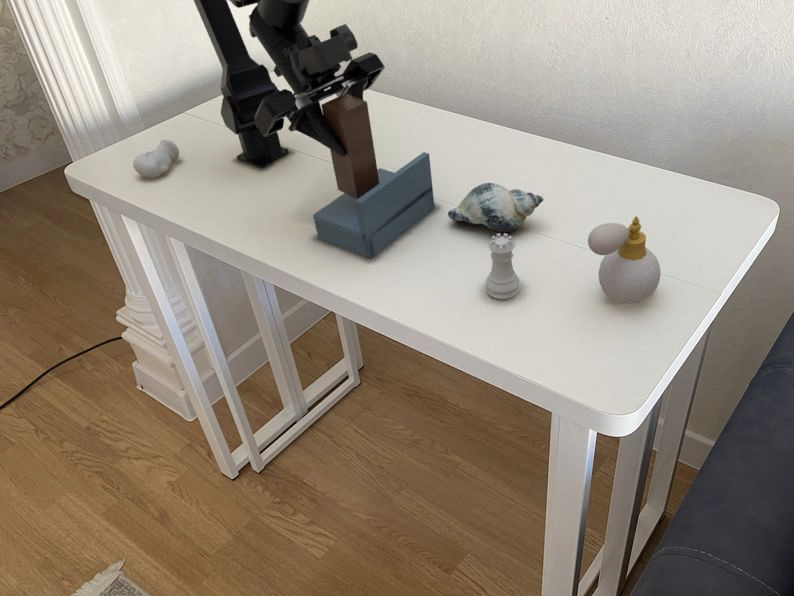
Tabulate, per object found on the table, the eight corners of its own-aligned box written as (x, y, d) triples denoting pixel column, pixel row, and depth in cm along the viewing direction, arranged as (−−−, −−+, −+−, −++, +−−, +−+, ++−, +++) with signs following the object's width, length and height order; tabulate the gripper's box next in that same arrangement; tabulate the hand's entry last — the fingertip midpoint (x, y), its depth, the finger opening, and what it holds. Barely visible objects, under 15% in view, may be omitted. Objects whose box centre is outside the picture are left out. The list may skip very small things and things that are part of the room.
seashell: (472, 215, 110) (539, 238, 104) (442, 218, 104) (512, 243, 98) (480, 173, 107) (549, 194, 101) (450, 174, 101) (522, 197, 96)
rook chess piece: (483, 281, 95) (481, 230, 90) (517, 278, 95) (517, 227, 90) (487, 302, 92) (485, 251, 86) (522, 299, 92) (522, 247, 87)
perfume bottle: (667, 290, 92) (681, 209, 84) (630, 332, 86) (641, 250, 78) (614, 270, 95) (623, 190, 87) (576, 310, 90) (581, 229, 82)
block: (337, 189, 101) (321, 104, 93) (360, 177, 103) (345, 93, 95) (357, 199, 99) (342, 113, 91) (380, 187, 101) (367, 101, 93)
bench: (318, 238, 105) (305, 183, 98) (383, 190, 113) (375, 137, 107) (370, 259, 100) (360, 203, 94) (434, 207, 109) (429, 153, 103)
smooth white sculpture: (152, 189, 120) (130, 174, 121) (190, 167, 124) (168, 152, 125) (148, 169, 116) (125, 153, 118) (186, 147, 121) (165, 132, 122)
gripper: (243, 32, 83) (322, 149, 84) (365, -13, 92) (433, 93, 94) (224, 83, 92) (295, 186, 94) (336, 37, 102) (399, 132, 103)
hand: (358, 148), depth 96 cm, fingers closed on block, 4 cm apart
